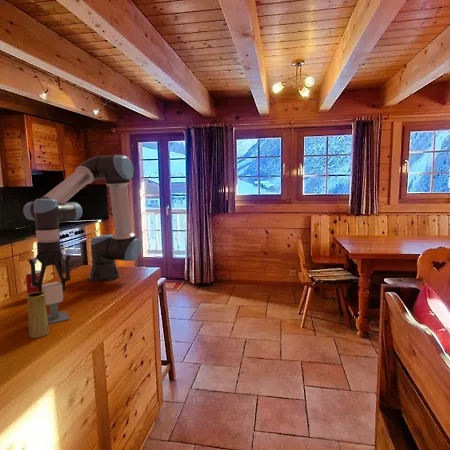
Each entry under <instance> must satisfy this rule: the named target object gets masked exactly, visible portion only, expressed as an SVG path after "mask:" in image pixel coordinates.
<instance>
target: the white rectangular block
mask: <svg viewBox="0 0 450 450" xmlns="http://www.w3.org/2000/svg"><path fill="white" fill-rule="evenodd" d="M59 282H60V281H54V282H49V283H43V285H44V291H45V302H46V306H48V305H49V304H54V303H58V304H59V303H62V302H63V300H62V299H61V287H60V284H59Z"/></svg>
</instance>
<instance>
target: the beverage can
mask: <svg viewBox="0 0 450 450" xmlns="http://www.w3.org/2000/svg"><path fill="white" fill-rule="evenodd" d="M40 271H41V270H36V269H35V274H36V282H38V279H39V275H40ZM25 282H26V291H27V292H26V293H27V295H28V294H30V293H33V292H38V287H37V286H32V280H31V270H29V271H28V272H27V274H26V275H25ZM43 284H44V281H43V282H42V285H43Z"/></svg>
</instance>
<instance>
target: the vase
mask: <svg viewBox="0 0 450 450" xmlns="http://www.w3.org/2000/svg"><path fill="white" fill-rule="evenodd" d="M26 301H27V313H28V314H27V317H28V337H29V338H31V339H39V337H40V338H43V337H45V336H47V335H48V334H50V328H49V327H50V326H49V324H48V319H47V315H48V312H47V311H48V310H47V305H46V302H45V293H44V292H33V293H30V294H27V295H26Z"/></svg>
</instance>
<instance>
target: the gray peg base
mask: <svg viewBox="0 0 450 450" xmlns="http://www.w3.org/2000/svg"><path fill="white" fill-rule="evenodd" d="M47 319H48V325H52V324H57V323H61V322H64V321H65V320H66V321H70V320H71V319H70V317H69V315H68V312H67V311H66V310H63V311H59V303H54V304H49V314H48V313H47Z"/></svg>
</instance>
